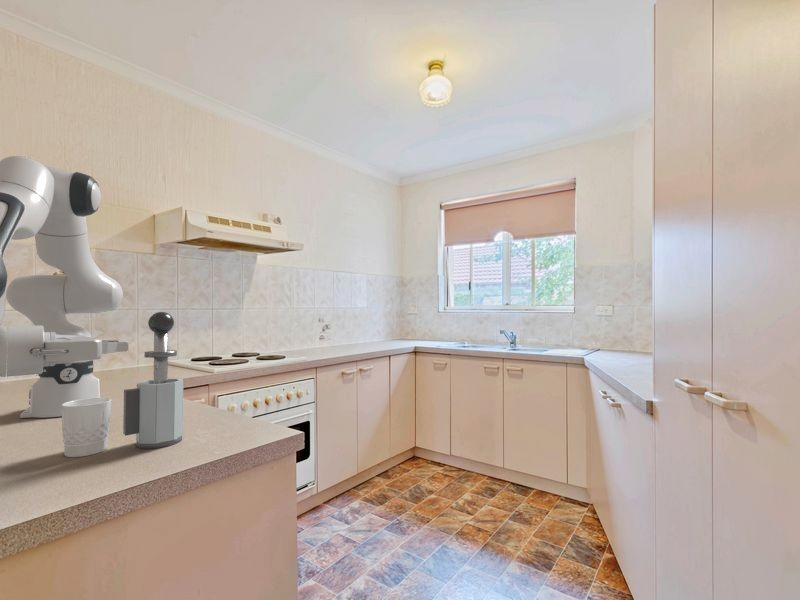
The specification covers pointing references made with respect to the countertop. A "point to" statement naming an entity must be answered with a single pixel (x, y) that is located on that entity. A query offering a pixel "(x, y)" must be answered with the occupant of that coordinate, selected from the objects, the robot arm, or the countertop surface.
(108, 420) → the white cup
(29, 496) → the countertop surface
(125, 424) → the grey faceted holder
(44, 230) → the robot arm
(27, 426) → the countertop surface
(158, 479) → the countertop surface
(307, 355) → the countertop surface
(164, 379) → the plunger
